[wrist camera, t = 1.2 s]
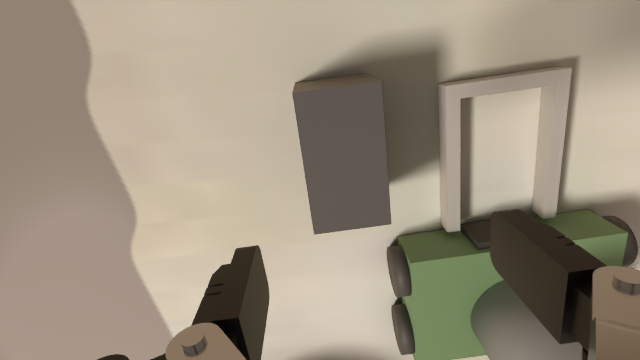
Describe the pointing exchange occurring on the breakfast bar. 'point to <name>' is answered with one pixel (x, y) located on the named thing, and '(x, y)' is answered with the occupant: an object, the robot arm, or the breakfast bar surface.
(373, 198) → the grey rectangular block
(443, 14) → the breakfast bar surface
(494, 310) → the toy tractor
